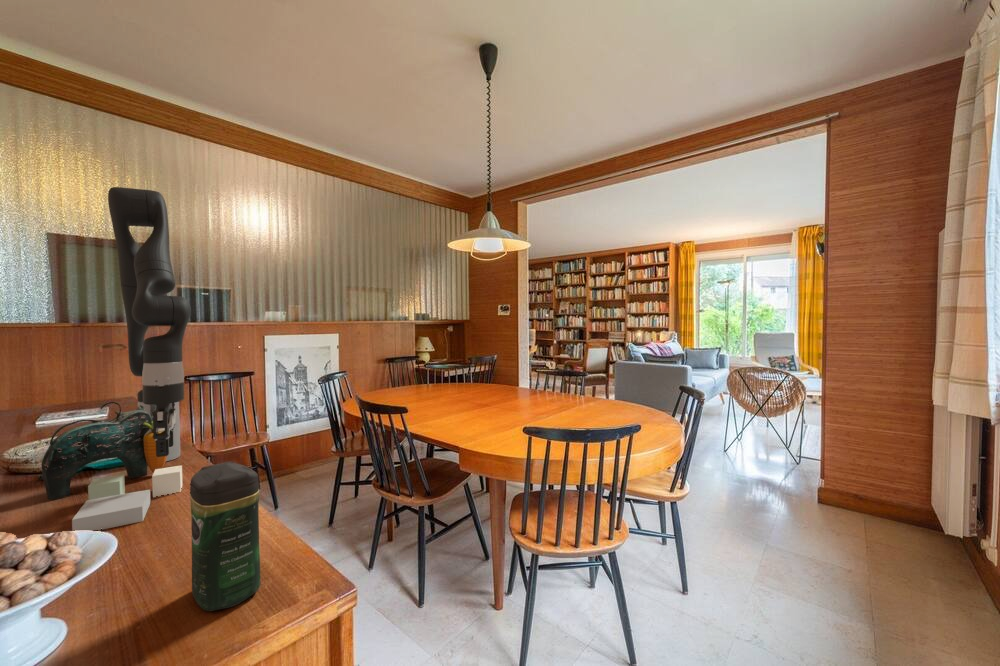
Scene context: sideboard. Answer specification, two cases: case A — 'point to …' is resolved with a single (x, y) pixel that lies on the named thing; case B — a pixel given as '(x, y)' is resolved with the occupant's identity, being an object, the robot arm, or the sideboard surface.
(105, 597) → the sideboard surface
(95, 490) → the sage block
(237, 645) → the sideboard surface
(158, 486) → the cream block
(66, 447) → the dark green arched piece
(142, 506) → the base slab
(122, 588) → the sideboard surface
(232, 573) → the coffee jar
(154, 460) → the carrot
